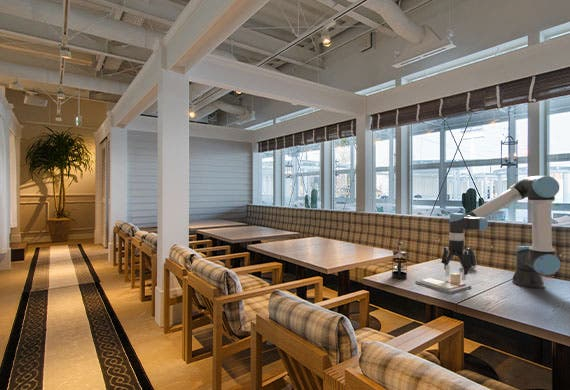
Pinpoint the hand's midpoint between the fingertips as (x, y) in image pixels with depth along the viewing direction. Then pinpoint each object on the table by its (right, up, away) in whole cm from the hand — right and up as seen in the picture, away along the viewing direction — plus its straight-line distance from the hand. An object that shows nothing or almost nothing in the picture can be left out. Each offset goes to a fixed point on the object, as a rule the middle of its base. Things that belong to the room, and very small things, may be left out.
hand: (455, 277), depth 189 cm
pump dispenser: (+30, -4, +40) cm, 50 cm away
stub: (0, -3, 0) cm, 3 cm away
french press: (-27, -5, +17) cm, 32 cm away
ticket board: (-7, -5, +1) cm, 8 cm away
